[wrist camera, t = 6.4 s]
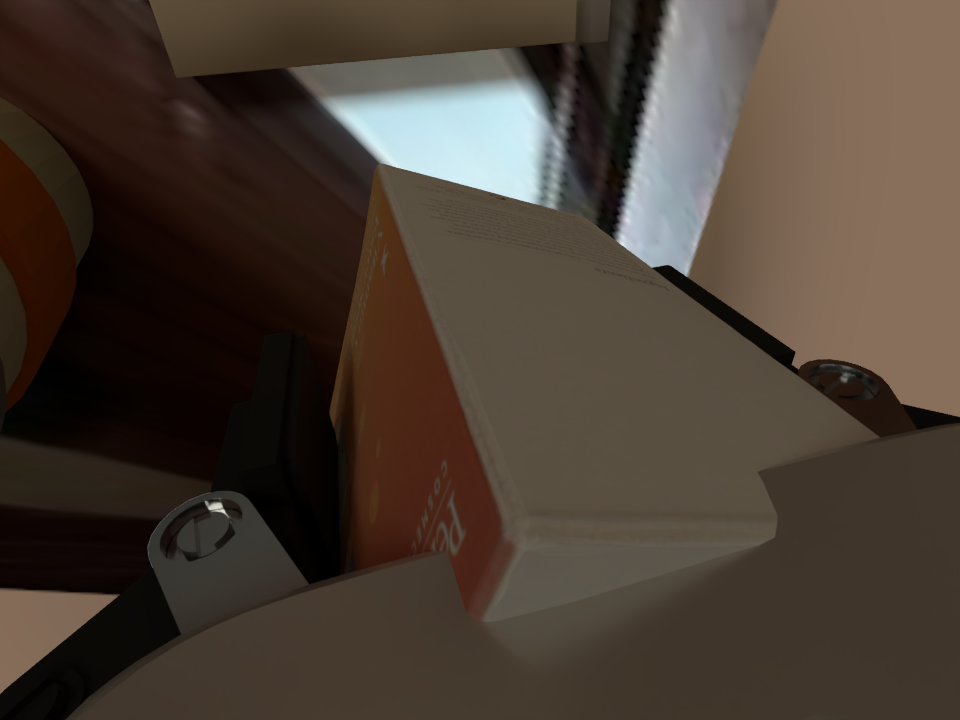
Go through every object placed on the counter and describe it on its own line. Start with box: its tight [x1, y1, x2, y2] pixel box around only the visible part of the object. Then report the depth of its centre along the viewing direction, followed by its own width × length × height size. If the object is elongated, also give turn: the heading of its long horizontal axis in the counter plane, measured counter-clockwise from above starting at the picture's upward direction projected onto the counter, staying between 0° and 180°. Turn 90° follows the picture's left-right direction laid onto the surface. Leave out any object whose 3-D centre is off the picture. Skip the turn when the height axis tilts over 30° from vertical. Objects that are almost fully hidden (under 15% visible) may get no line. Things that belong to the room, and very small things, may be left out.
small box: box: [329, 164, 880, 622], centre depth 10 cm, size 8×6×10 cm
